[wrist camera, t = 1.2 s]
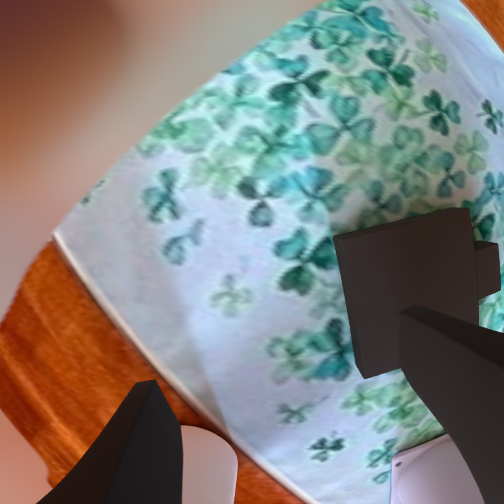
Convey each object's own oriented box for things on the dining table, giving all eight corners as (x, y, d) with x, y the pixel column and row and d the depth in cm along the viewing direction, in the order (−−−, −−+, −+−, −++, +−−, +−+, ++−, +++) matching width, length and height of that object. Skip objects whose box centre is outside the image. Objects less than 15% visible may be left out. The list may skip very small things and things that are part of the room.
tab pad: (485, 318, 18) (501, 326, 16) (355, 365, 18) (364, 380, 16) (474, 201, 17) (492, 201, 15) (332, 236, 17) (340, 239, 15)
